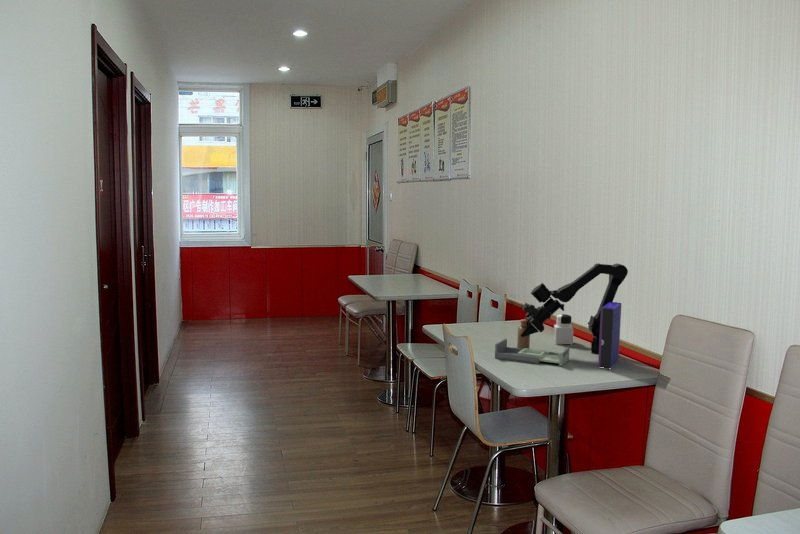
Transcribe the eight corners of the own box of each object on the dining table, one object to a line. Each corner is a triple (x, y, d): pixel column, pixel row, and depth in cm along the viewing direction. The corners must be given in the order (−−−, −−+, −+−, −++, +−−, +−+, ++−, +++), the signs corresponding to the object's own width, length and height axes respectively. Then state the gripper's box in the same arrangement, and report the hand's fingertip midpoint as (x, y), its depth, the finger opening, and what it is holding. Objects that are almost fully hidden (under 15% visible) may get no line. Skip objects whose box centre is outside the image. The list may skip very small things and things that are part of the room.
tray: (569, 359, 280) (570, 347, 279) (562, 365, 269) (562, 353, 269) (525, 354, 288) (525, 342, 288) (516, 359, 278) (517, 347, 278)
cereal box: (606, 358, 284) (609, 301, 282) (618, 360, 282) (621, 302, 280) (598, 367, 269) (600, 307, 266) (610, 369, 267) (613, 308, 264)
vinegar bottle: (530, 349, 297) (531, 319, 296) (527, 352, 293) (528, 321, 291) (519, 348, 300) (520, 318, 298) (515, 350, 295) (516, 320, 294)
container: (570, 341, 317) (571, 313, 315) (572, 345, 309) (574, 316, 307) (553, 340, 317) (554, 313, 316) (555, 344, 310) (556, 316, 308)
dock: (546, 357, 284) (547, 343, 284) (538, 363, 274) (538, 349, 273) (504, 352, 293) (505, 338, 292) (494, 358, 282) (495, 343, 281)
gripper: (531, 293, 303) (505, 317, 304) (537, 300, 284) (509, 326, 286) (548, 311, 303) (522, 335, 305) (555, 319, 285) (528, 344, 286)
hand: (520, 335), depth 296 cm, fingers closed on vinegar bottle, 5 cm apart
